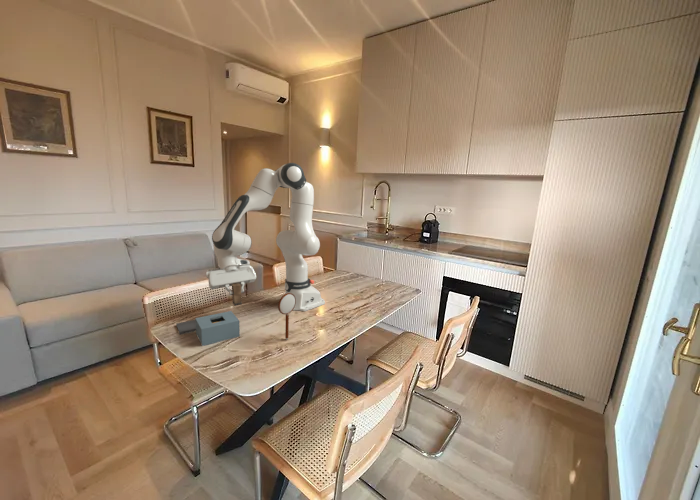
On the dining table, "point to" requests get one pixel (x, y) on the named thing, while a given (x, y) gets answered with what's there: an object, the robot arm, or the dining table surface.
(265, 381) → the dining table surface
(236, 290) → the upright wooden post
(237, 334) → the box
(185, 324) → the pad
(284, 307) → the magnifying glass
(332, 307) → the dining table surface
